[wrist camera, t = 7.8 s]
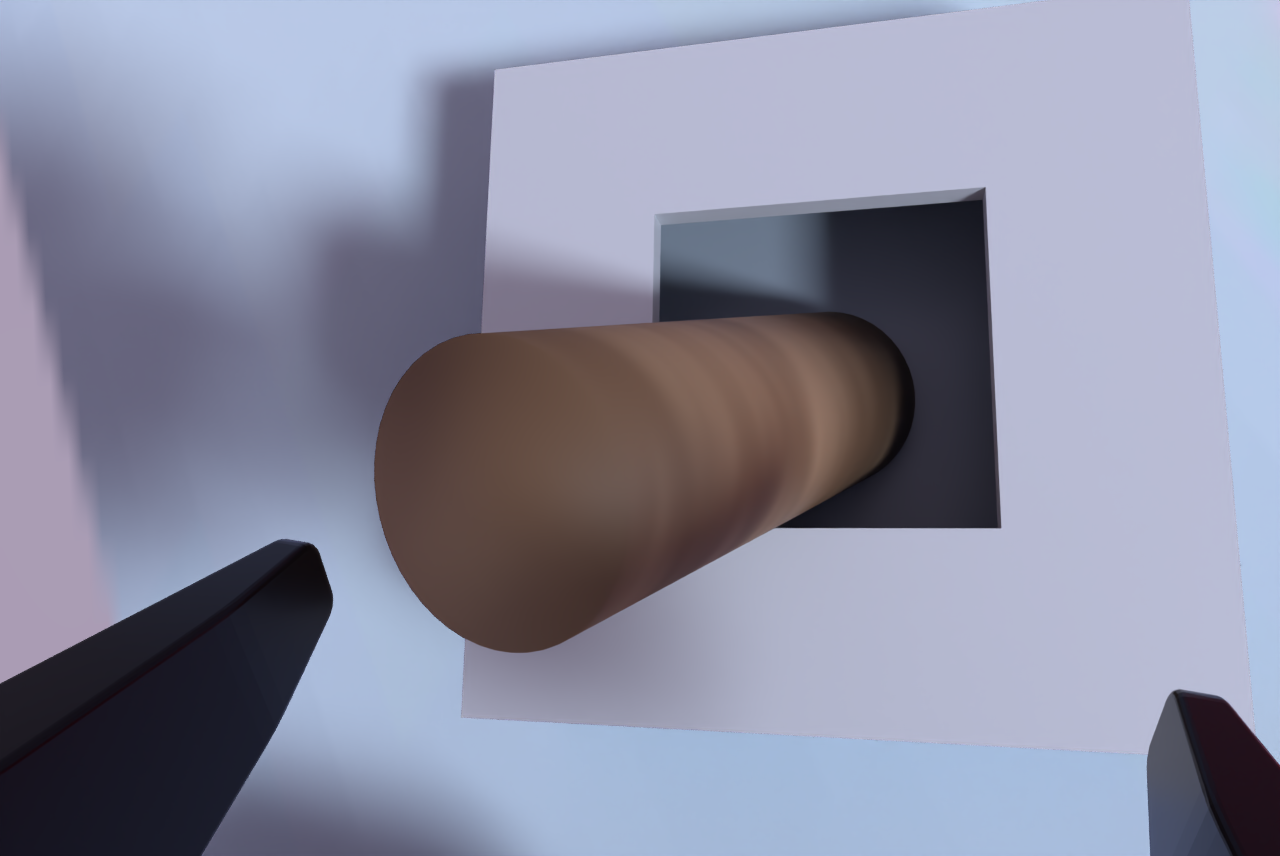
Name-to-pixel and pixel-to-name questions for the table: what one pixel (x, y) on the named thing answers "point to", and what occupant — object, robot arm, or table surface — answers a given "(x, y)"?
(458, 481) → the peg
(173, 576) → the table surface
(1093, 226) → the box
